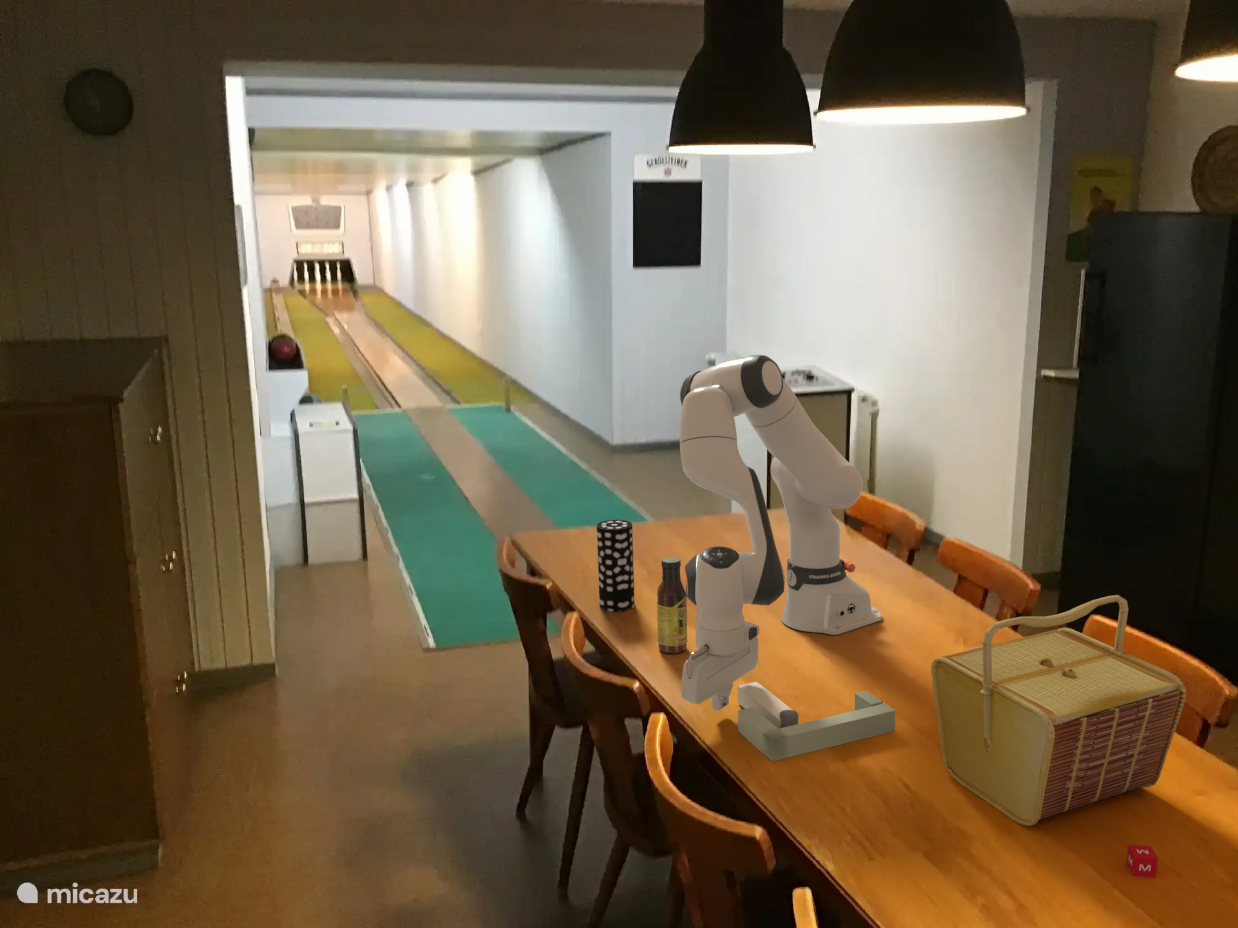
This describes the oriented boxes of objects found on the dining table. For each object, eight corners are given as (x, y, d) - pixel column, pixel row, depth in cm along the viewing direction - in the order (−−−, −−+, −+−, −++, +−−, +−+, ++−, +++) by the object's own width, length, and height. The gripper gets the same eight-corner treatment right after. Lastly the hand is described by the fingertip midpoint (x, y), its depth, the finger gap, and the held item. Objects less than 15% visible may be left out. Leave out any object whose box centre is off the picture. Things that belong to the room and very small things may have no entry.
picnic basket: (1037, 849, 154) (1050, 656, 147) (920, 767, 177) (927, 597, 170) (1181, 800, 165) (1200, 619, 158) (1054, 729, 188) (1065, 568, 181)
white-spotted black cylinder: (594, 609, 251) (590, 528, 246) (607, 597, 258) (604, 518, 254) (626, 613, 248) (624, 531, 243) (639, 601, 255) (637, 521, 251)
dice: (1132, 876, 147) (1134, 857, 146) (1126, 863, 150) (1128, 844, 149) (1155, 877, 147) (1157, 858, 146) (1149, 864, 149) (1150, 845, 149)
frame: (855, 703, 200) (856, 683, 199) (894, 730, 189) (895, 710, 188) (738, 730, 191) (738, 710, 190) (772, 761, 180) (772, 739, 179)
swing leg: (803, 738, 188) (803, 715, 187) (783, 743, 186) (783, 719, 185) (756, 700, 203) (756, 678, 201) (738, 704, 201) (737, 682, 200)
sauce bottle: (685, 655, 223) (683, 565, 219) (655, 654, 225) (653, 564, 220) (689, 643, 230) (687, 555, 225) (660, 641, 231) (658, 554, 226)
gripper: (701, 660, 183) (702, 733, 186) (764, 623, 199) (764, 691, 202) (671, 651, 187) (673, 723, 190) (735, 616, 202) (736, 683, 206)
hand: (720, 707), depth 196 cm, fingers closed
